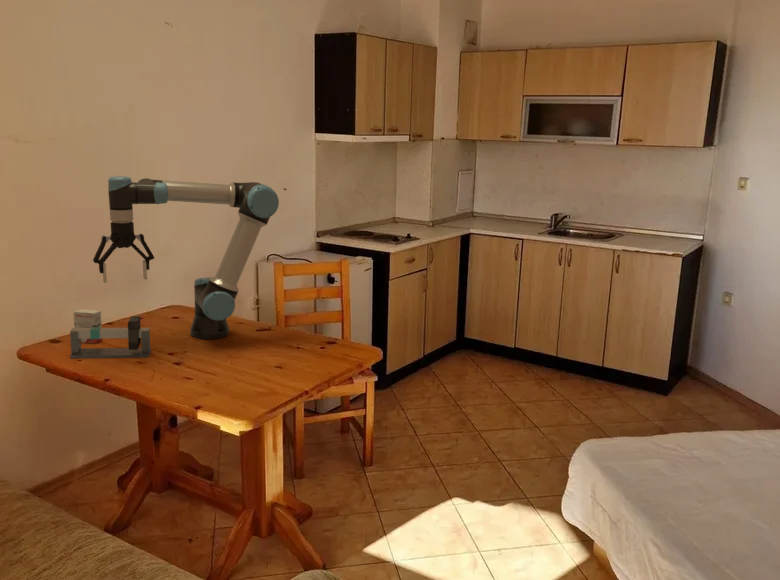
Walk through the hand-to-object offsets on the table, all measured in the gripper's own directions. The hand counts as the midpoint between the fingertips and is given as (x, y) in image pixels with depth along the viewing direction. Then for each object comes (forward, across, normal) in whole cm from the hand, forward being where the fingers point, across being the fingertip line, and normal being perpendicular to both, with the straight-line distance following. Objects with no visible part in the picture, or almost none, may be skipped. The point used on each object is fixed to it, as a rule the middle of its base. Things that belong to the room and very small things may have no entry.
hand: (125, 280), depth 244 cm
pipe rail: (+26, +6, +2) cm, 27 cm away
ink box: (+26, +12, -17) cm, 34 cm away
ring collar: (+23, -1, +4) cm, 24 cm away
